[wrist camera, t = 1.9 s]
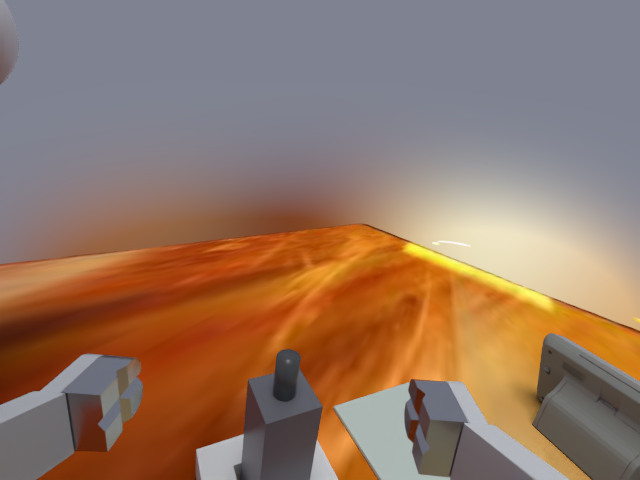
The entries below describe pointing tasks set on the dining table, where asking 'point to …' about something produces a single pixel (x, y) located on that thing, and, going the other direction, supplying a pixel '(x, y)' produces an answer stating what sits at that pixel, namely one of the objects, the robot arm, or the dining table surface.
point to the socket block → (226, 457)
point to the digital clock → (589, 410)
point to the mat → (383, 433)
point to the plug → (280, 423)
